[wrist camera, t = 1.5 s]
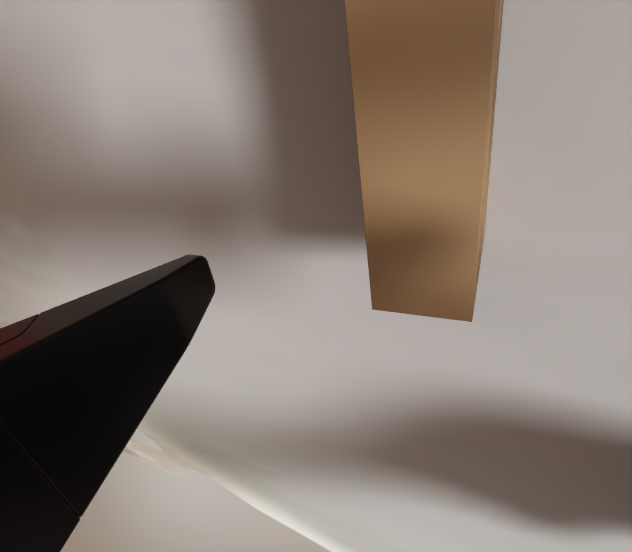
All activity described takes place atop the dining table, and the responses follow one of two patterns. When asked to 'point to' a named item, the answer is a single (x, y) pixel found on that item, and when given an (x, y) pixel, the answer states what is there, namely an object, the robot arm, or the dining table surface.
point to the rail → (424, 146)
